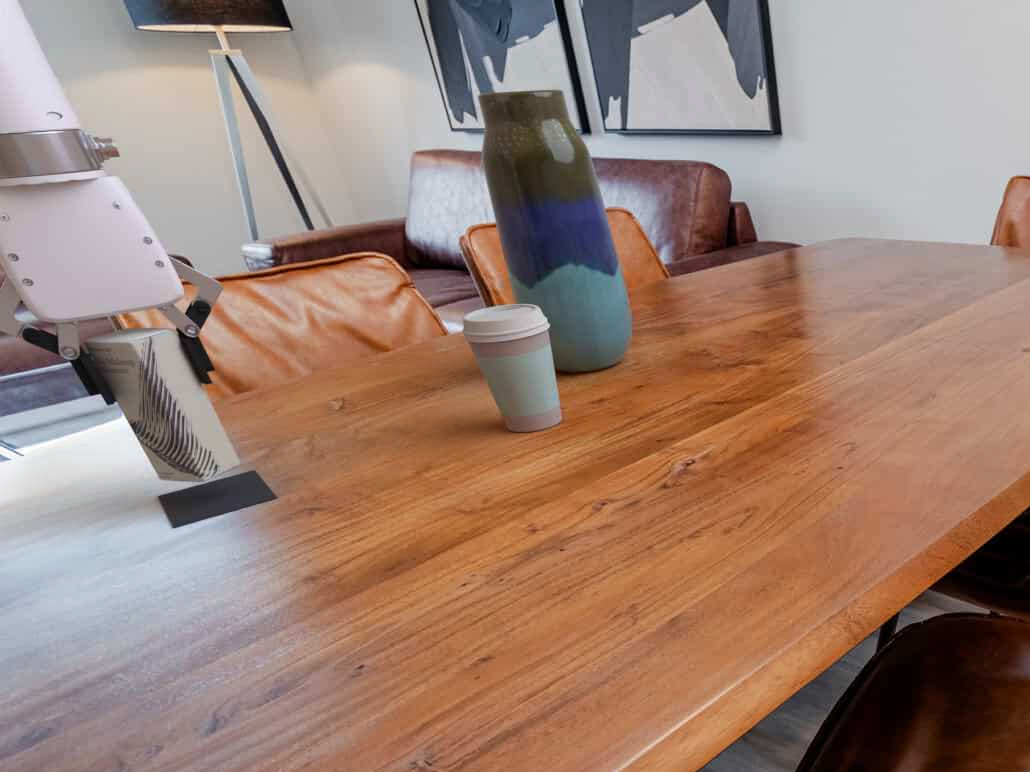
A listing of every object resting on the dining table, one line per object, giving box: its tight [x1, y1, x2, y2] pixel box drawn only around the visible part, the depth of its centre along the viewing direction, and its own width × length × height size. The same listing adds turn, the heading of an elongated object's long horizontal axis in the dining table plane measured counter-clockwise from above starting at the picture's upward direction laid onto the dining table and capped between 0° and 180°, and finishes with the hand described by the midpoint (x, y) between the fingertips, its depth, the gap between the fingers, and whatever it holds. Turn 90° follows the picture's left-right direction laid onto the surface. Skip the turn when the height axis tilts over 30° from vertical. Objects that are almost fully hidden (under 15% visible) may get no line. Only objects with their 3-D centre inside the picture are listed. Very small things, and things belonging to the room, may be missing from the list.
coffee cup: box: [461, 303, 563, 433], centre depth 88 cm, size 9×8×12 cm
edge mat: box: [157, 469, 278, 529], centre depth 78 cm, size 8×10×1 cm
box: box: [82, 327, 242, 483], centre depth 73 cm, size 5×4×13 cm
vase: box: [477, 89, 634, 373], centre depth 102 cm, size 14×14×31 cm
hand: (158, 389), depth 72 cm, fingers closed on box, 6 cm apart
